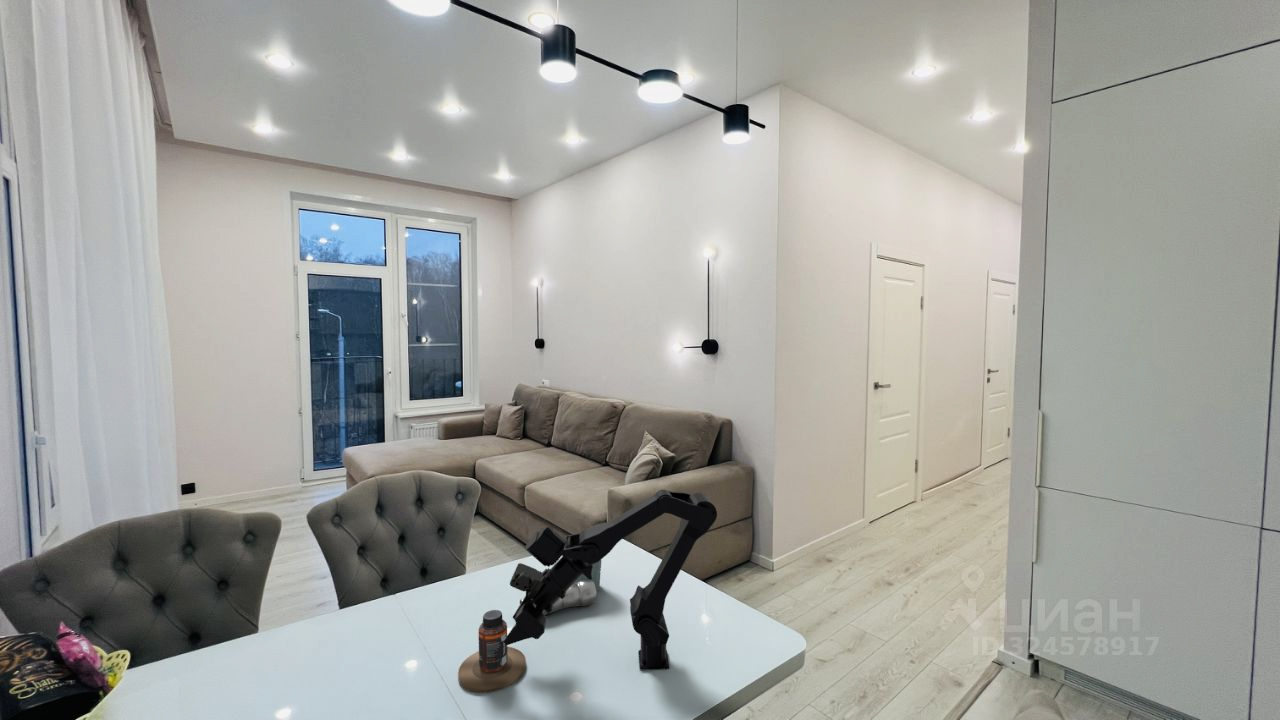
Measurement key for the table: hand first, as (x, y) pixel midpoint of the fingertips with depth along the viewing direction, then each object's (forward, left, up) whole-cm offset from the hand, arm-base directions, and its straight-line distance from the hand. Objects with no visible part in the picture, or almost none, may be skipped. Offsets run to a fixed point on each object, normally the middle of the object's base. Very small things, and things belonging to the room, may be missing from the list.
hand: (510, 630), depth 111 cm
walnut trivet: (0, +4, -9) cm, 9 cm away
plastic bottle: (+27, -17, -6) cm, 33 cm away
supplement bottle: (0, +4, -8) cm, 9 cm away
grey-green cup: (+35, -14, -9) cm, 39 cm away
